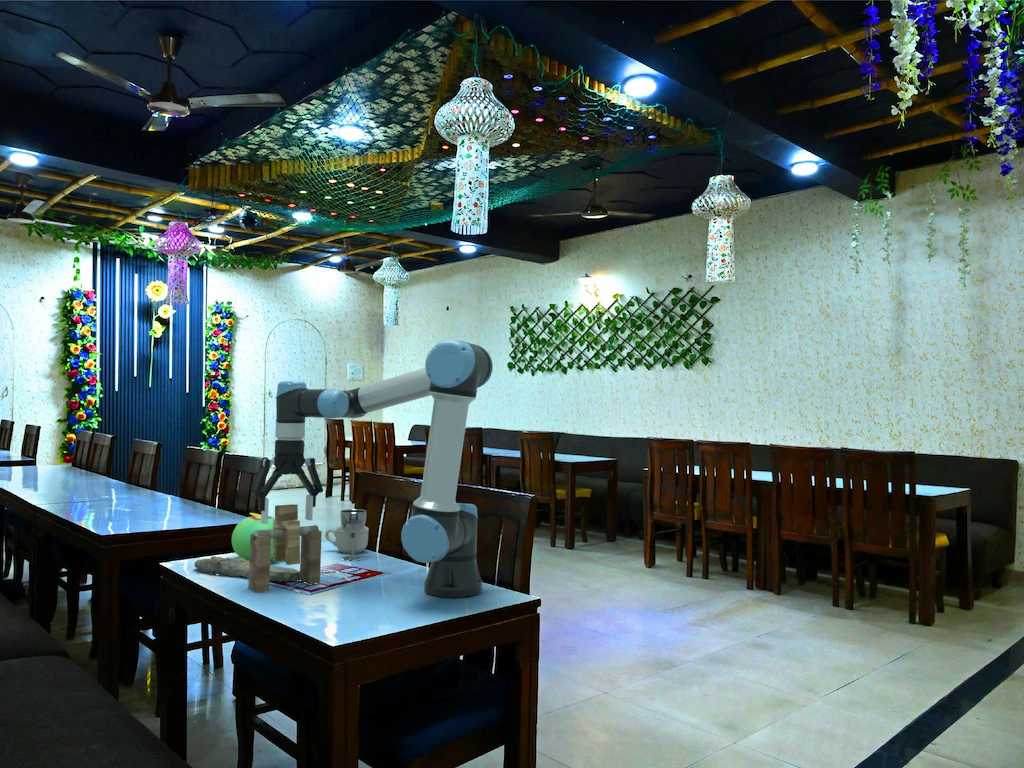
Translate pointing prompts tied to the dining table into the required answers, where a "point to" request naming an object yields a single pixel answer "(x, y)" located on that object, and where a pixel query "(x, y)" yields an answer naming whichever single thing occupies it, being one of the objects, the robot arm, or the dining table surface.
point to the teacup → (348, 540)
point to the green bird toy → (243, 534)
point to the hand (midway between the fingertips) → (287, 521)
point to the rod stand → (261, 556)
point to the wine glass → (353, 527)
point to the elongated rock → (243, 569)
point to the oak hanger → (287, 535)
